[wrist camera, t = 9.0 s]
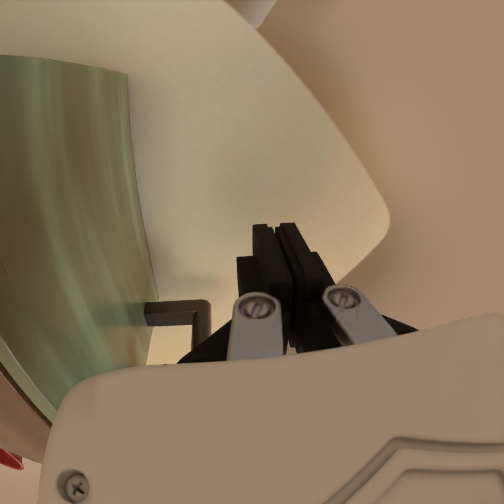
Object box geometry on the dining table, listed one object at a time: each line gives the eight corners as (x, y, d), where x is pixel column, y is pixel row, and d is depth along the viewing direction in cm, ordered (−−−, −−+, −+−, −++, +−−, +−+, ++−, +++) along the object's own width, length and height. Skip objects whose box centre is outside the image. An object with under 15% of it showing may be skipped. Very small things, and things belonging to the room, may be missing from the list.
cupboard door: (196, 64, 17) (126, -52, 2) (213, 295, 27) (221, 484, 12) (114, 76, 17) (-85, 72, 2) (149, 298, 27) (116, 479, 11)
